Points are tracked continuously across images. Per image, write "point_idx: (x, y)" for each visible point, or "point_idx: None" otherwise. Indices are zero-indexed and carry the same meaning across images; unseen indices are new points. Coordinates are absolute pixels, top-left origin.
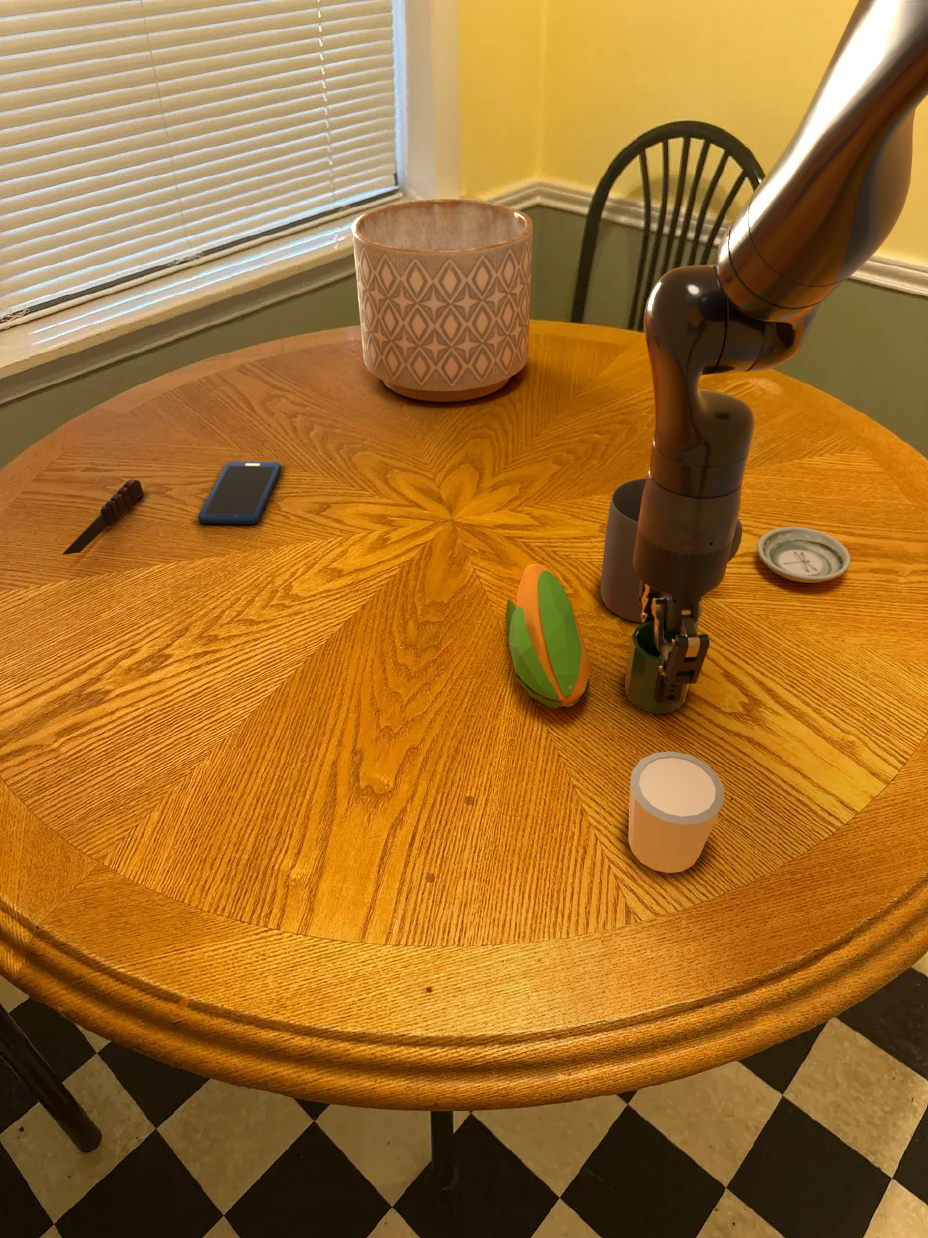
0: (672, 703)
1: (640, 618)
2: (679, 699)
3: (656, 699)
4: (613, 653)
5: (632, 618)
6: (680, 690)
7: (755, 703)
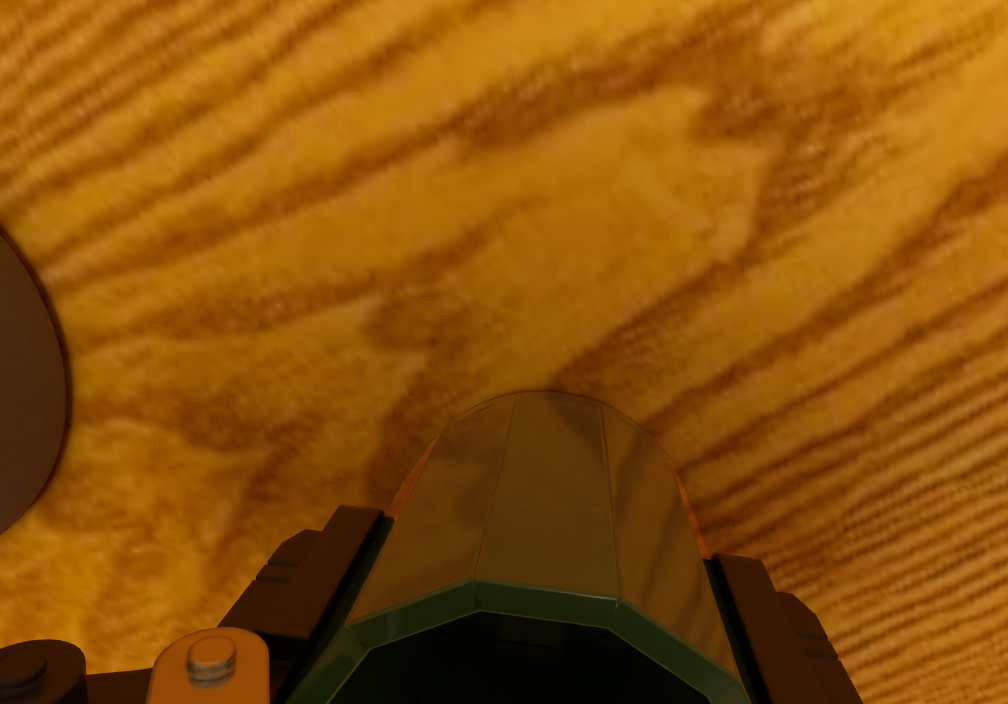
0: (702, 537)
1: (45, 452)
2: (762, 564)
3: None
4: None
5: (42, 482)
6: (843, 667)
7: (723, 52)
